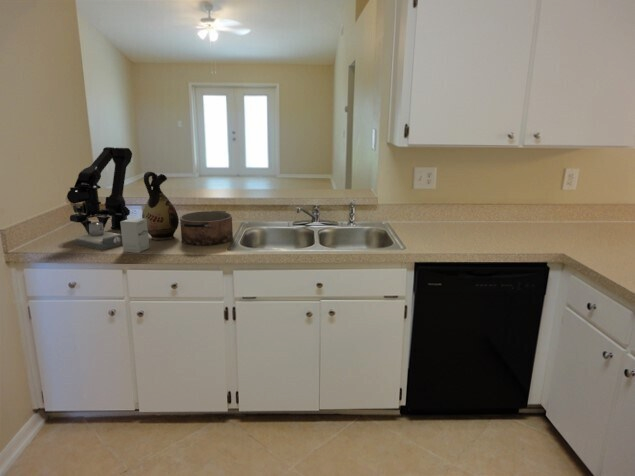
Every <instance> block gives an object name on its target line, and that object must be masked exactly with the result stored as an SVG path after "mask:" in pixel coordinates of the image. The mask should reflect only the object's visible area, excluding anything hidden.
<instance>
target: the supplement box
mask: <svg viewBox="0 0 635 476" xmlns="http://www.w3.org/2000/svg"><path fill="white" fill-rule="evenodd" d="M120 224H121V229H120V231H121V233H120V234H122V243H123V245H122V251H123V252H125V253H135V254H137V253H138V254H140V253H141V252H143V251H145V250H148V249H150V242H149V241H150V240H149V233H148V227H147V219H143V218H142V217H139V218H138V217H130V218H127V220H124V221H121V222H120Z"/></svg>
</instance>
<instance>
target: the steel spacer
mask: <svg viewBox="0 0 635 476" xmlns="http://www.w3.org/2000/svg"><path fill="white" fill-rule="evenodd" d="M104 229H105V227H104V228H103V223H102V222H99V221H96V222H91V223H89V233H90V236H102V235H104V231H105V230H104Z"/></svg>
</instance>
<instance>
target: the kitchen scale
mask: <svg viewBox="0 0 635 476" xmlns="http://www.w3.org/2000/svg"><path fill="white" fill-rule="evenodd" d="M75 244H76V245H77V246H78V245H79V246H83V247H86V248H92V249H96V250H101V251H104V250H108V249H112V248H116V247H119V246H123V243H122V233H117V232H116V233H115V232H111V231H105V230H104V235H102V236H90V234H89V235H88V234H86V235H82V236H78V237H77V239H75Z"/></svg>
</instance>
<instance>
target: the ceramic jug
mask: <svg viewBox="0 0 635 476" xmlns="http://www.w3.org/2000/svg"><path fill="white" fill-rule="evenodd" d="M150 178H151V182H150ZM167 180H168V177H167V176H166V175H165V174H164V173H160V174H156V173H155V172H153V171H147V172H145V173H144V175H143V183H144V185H145V188H146V191H147V193H148V197H149V198H148V199H147V201H146V203H145V205H144V208H143V210H142V213H141V214H142V215H141V218H143V219H147V227H148V235H149V236H150V237H151V238H152V240H154V241H157V240H158V241H159V240H169V239H173V238H175V233H176V231H177V229H178V227H179V225H180V217H179V215H178V212H177V209H176V208H175V206H174V205H173V203H172V202H171V201H170V199H169V198H168V197H167V196H166V195H165V194H164V193H163V191H162V189H161V185H162V184H163V183H164V182H166V181H167Z"/></svg>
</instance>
